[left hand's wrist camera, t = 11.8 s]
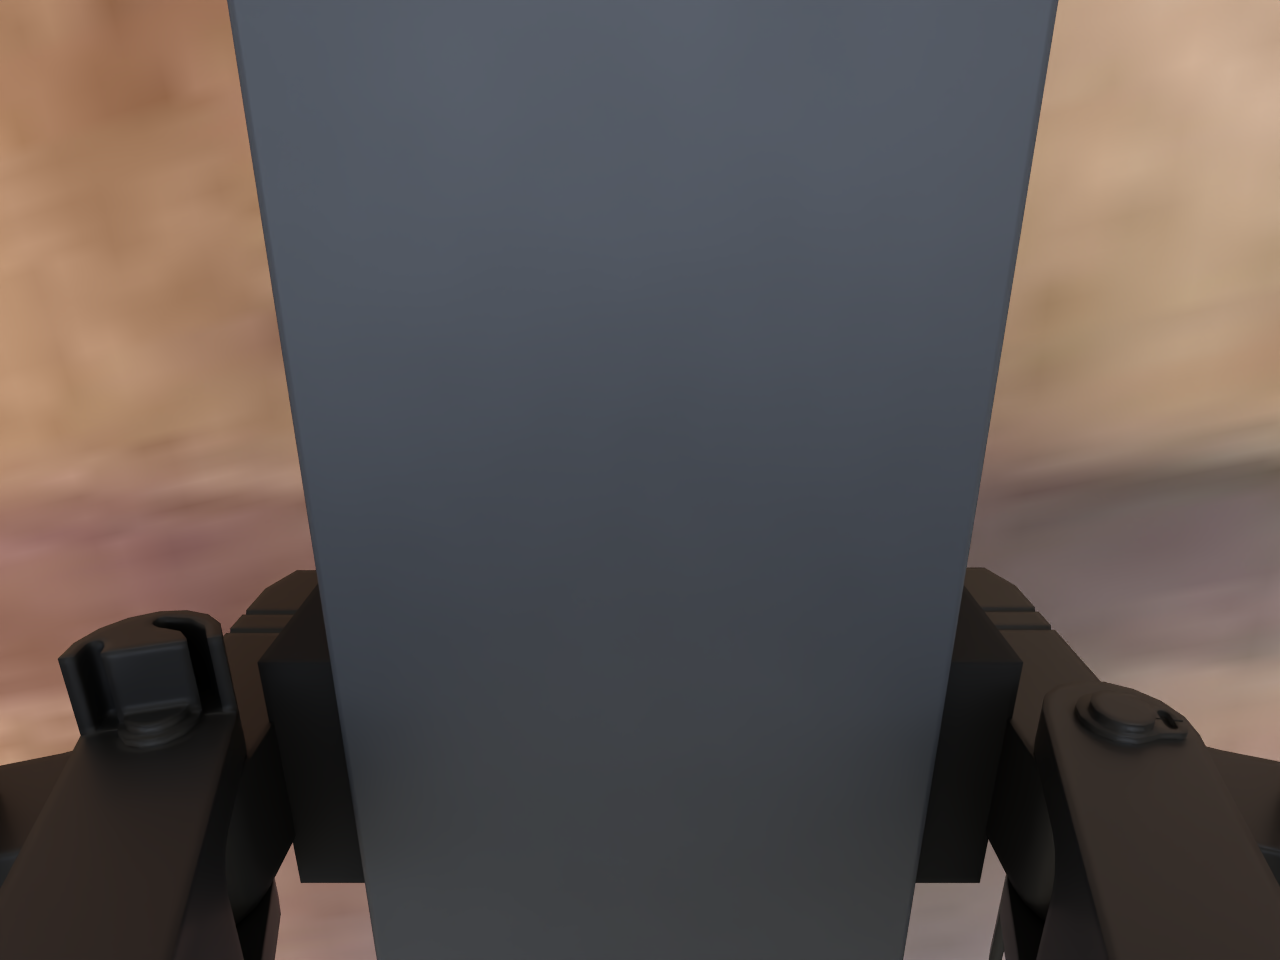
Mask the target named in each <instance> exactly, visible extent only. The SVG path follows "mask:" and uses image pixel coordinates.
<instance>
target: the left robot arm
mask: <svg viewBox="0 0 1280 960" xmlns="http://www.w3.org/2000/svg"><path fill="white" fill-rule="evenodd" d="M230 630H231V631H230V633H226V634H225V635H224V636H223V634H222V629H221V624H220V623H219V622H218V621H217V620H215V619H214V618H212V617H211V616H210V615H208V614H204V613H198V612H193V611H188V610H182V611H159V612H155V613H150V614H145V615H140V616H135V617H130V618H127V619H124V620H122V621H119V622H116V623H113V624H111V625H108V626H105V627H102V628H100V629H98V630H96V631H94V632H92V633H91V634H89V635H87V636H85V637H84V638H82V639H80V640H78V641H77V642H75V643H73V644H72V645H71V646H70V647H69V648H68V649H67V650H66V651H65V652H64V653H63V654H62V655H61V656H60V657H59V658H58V661H59V665H60V668H61V671H62V675H63V678H64V681H65V685H66V688H67V691H68V695H69V698H70V701H71V704H72V708H73V711H74V714H75V718H76V721H77V724H78V728H79V731H80V734H81V736H80V738H79V740H78V742H77V744H76V746H75V748H74V749H73V751H70V752H66V753H62V754H57V755H52V756H47V757H42V758H37V759H32V760H27V761H22V762H17V763H12V764H7V765H2V766H0V960H275V953H276V945H277V938H278V930H279V923H280V916H281V912H280V905H279V897H278V892H277V887H276V883H275V876H276V874H277V872H278V870H279V868H280V866H281V864H282V862H283V860H284V858H285V856H286V854H287V852H288V850H289V848H290V846H291V845H292V843H293V845H294V850H295V855H296V860H297V865H298V871H299V876H300V881H301V883H365V880H364V873H363V867H362V860H361V854H360V848H359V841H358V835H357V828H356V822H355V816H354V809H353V803H352V796H351V790H350V784H349V777H348V771H347V764H346V758H345V752H344V745H343V739H342V732H341V726H340V719H339V713H338V707H337V700H336V694H335V687H334V681H333V675H332V668H331V662H330V655H329V649H328V643H327V636H326V630H325V623H324V617H323V611H322V604H321V598H320V591H319V585H318V579H317V572H316V570H297V571H295V572H293V573H291V574H290V575H288V576H286V577H285V578H283V579H281V580H280V581H278V582H276V583H274V584H273V585H271V586H269V587H268V588H266V589H265V590H264V591H263V592H262V593H261V594H260V595H259V597H258V598H257V599H256V600H255V601H254V602H253V603H252V605H251V606H250V607H249V608H248V609H247V610H246V615H242V616H241V617H240V618H239V619H238V620H237V622H236V623H235V624H234V625H233V626H232V627H231V628H230ZM988 839H989V841H990V843H991V845H992V847H993V849H994V851H995V853H996V855H997V857H998V859H999V861H1000V862H1001V864H1002V866H1003V868H1004V870H1005V872H1006V878H1005V883H1004V887H1003V892H1002V897H1001V902H1000V906H999V911H998V916H997V920H996V925H995V930H994V934H993V939H992V944H991V949H990V955H989V960H1002V957H1003V952H1005V958H1006V960H1280V762H1278V761H1273V760H1268V759H1263V758H1258V757H1253V756H1248V755H1242V754H1237V753H1232V752H1227V751H1222V750H1218V749H1214V748H1210V747H1206V746H1205V744H1204V742H1203V740H1202V738H1201V737H1200V735H1199V733H1198V732H1197V731H1196V730H1195V729H1194V727H1193V726H1192V725H1191V724H1190V723H1189V722H1188V720H1187V719H1186V718H1185V717H1184V716H1182V715H1181V714H1180V713H1178V712H1177V711H1175V710H1174V709H1172V708H1171V707H1169V706H1168V705H1166V704H1165V703H1163V702H1162V701H1160V700H1157V699H1155V698H1153V697H1150V696H1148V695H1146V694H1143V693H1141V692H1139V691H1136V690H1134V689H1131V688H1127V687H1123V686H1119V685H1115V684H1110V683H1106V682H1101V681H1100V680H1099V679H1098V678H1097V677H1096V676H1095V675H1094V674H1093V672H1092V671H1091V670H1090V669H1089V668H1088V667H1087V666H1086V665H1085V663H1084V662H1083V661H1082V660H1081V659H1080V658H1079V657H1078V656H1077V654H1076V653H1075V652H1074V651H1073V650H1072V649H1071V648H1070V647H1069V645H1068V644H1067V643H1066V642H1065V641H1064V640H1063V639H1062V638H1061V636H1060V635H1059V634H1058V633H1057V632H1056V631H1055V630H1051V625H1050V624H1049V623H1048V622H1047V621H1046V620H1045V618H1044V617H1043V616H1042V615H1041V614H1040V613H1039V612H1035V607H1034V606H1033V605H1032V604H1031V603H1030V602H1029V600H1028V599H1027V598H1026V597H1025V596H1024V595H1023V594H1022V593H1021V591H1020V590H1019V589H1018V588H1017V587H1016V586H1015V585H1013V584H1011V583H1010V582H1008V581H1006V580H1004V579H1003V578H1001V577H999V576H998V575H996V574H994V573H992V572H991V571H989V570H987V569H986V568H966V573H965V579H964V586H963V592H962V598H961V604H960V610H959V617H958V623H957V629H956V635H955V641H954V647H953V654H952V660H951V666H950V672H949V678H948V684H947V691H946V697H945V703H944V709H943V715H942V722H941V728H940V734H939V740H938V746H937V752H936V759H935V765H934V771H933V777H932V783H931V789H930V796H929V802H928V808H927V814H926V820H925V827H924V833H923V839H922V845H921V851H920V857H919V864H918V870H917V876H916V882H915V883H980V878H981V873H982V868H983V863H984V858H985V853H986V848H987V843H988Z"/></svg>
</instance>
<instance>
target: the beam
mask: <svg viewBox="0 0 1280 960" xmlns="http://www.w3.org/2000/svg"><path fill="white" fill-rule="evenodd" d="M227 2H228V9H229V15H230V22H231V28H232V34H233V41H234V47H235V54H236V60H237V66H238V73H239V79H240V86H241V92H242V98H243V105H244V111H245V118H246V124H247V130H248V137H249V143H250V150H251V156H252V162H253V169H254V175H255V182H256V188H257V194H258V201H259V207H260V214H261V220H262V226H263V233H264V239H265V246H266V252H267V258H268V265H269V271H270V278H271V284H272V291H273V297H274V303H275V310H276V316H277V323H278V329H279V335H280V342H281V348H282V355H283V361H284V367H285V374H286V380H287V387H288V393H289V399H290V406H291V412H292V419H293V425H294V431H295V438H296V444H297V451H298V457H299V463H300V470H301V476H302V483H303V489H304V495H305V502H306V508H307V515H308V521H309V527H310V534H311V540H312V547H313V553H314V559H315V566H316V572H317V579H318V585H319V591H320V598H321V604H322V611H323V617H324V623H325V630H326V636H327V643H328V649H329V655H330V662H331V668H332V675H333V681H334V687H335V694H336V700H337V707H338V713H339V719H340V726H341V732H342V739H343V745H344V752H345V758H346V764H347V771H348V777H349V784H350V790H351V796H352V803H353V809H354V816H355V822H356V828H357V835H358V841H359V848H360V854H361V860H362V867H363V873H364V880H365V886H366V892H367V899H368V905H369V912H370V918H371V924H372V931H373V937H374V944H375V950H376V956H377V960H903V956H904V950H905V944H906V938H907V932H908V925H909V919H910V913H911V907H912V901H913V895H914V888H915V882H916V876H917V870H918V864H919V857H920V851H921V845H922V839H923V833H924V827H925V820H926V814H927V808H928V802H929V796H930V789H931V783H932V777H933V771H934V765H935V759H936V752H937V746H938V740H939V734H940V728H941V722H942V715H943V709H944V703H945V697H946V691H947V684H948V678H949V672H950V666H951V660H952V654H953V647H954V641H955V635H956V629H957V623H958V617H959V610H960V604H961V598H962V592H963V586H964V579H965V573H966V567H967V561H968V555H969V549H970V542H971V536H972V530H973V524H974V518H975V512H976V505H977V499H978V493H979V487H980V481H981V474H982V468H983V462H984V456H985V450H986V444H987V437H988V431H989V425H990V419H991V413H992V406H993V400H994V394H995V388H996V382H997V376H998V369H999V363H1000V357H1001V351H1002V345H1003V339H1004V332H1005V326H1006V320H1007V314H1008V308H1009V301H1010V295H1011V289H1012V283H1013V277H1014V271H1015V264H1016V258H1017V252H1018V246H1019V240H1020V234H1021V227H1022V221H1023V215H1024V209H1025V203H1026V196H1027V190H1028V184H1029V178H1030V172H1031V166H1032V159H1033V153H1034V147H1035V141H1036V135H1037V129H1038V122H1039V116H1040V110H1041V104H1042V98H1043V91H1044V85H1045V79H1046V73H1047V67H1048V61H1049V54H1050V48H1051V42H1052V36H1053V30H1054V23H1055V17H1056V11H1057V5H1058V0H227Z"/></svg>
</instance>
